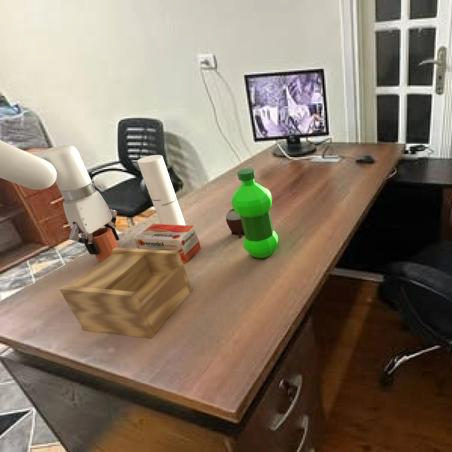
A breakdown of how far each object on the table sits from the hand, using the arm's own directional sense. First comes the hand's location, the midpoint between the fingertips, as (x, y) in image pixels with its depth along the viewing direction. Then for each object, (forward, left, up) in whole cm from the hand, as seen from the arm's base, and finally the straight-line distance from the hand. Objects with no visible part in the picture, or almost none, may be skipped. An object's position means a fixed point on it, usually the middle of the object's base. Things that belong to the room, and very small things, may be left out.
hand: (105, 246), depth 104 cm
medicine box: (+19, +4, -4) cm, 20 cm away
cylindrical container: (+10, +18, -4) cm, 21 cm away
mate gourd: (+35, +18, -4) cm, 40 cm away
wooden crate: (+26, -19, -4) cm, 32 cm away
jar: (0, 0, -4) cm, 4 cm away
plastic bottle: (+47, +7, -4) cm, 48 cm away
